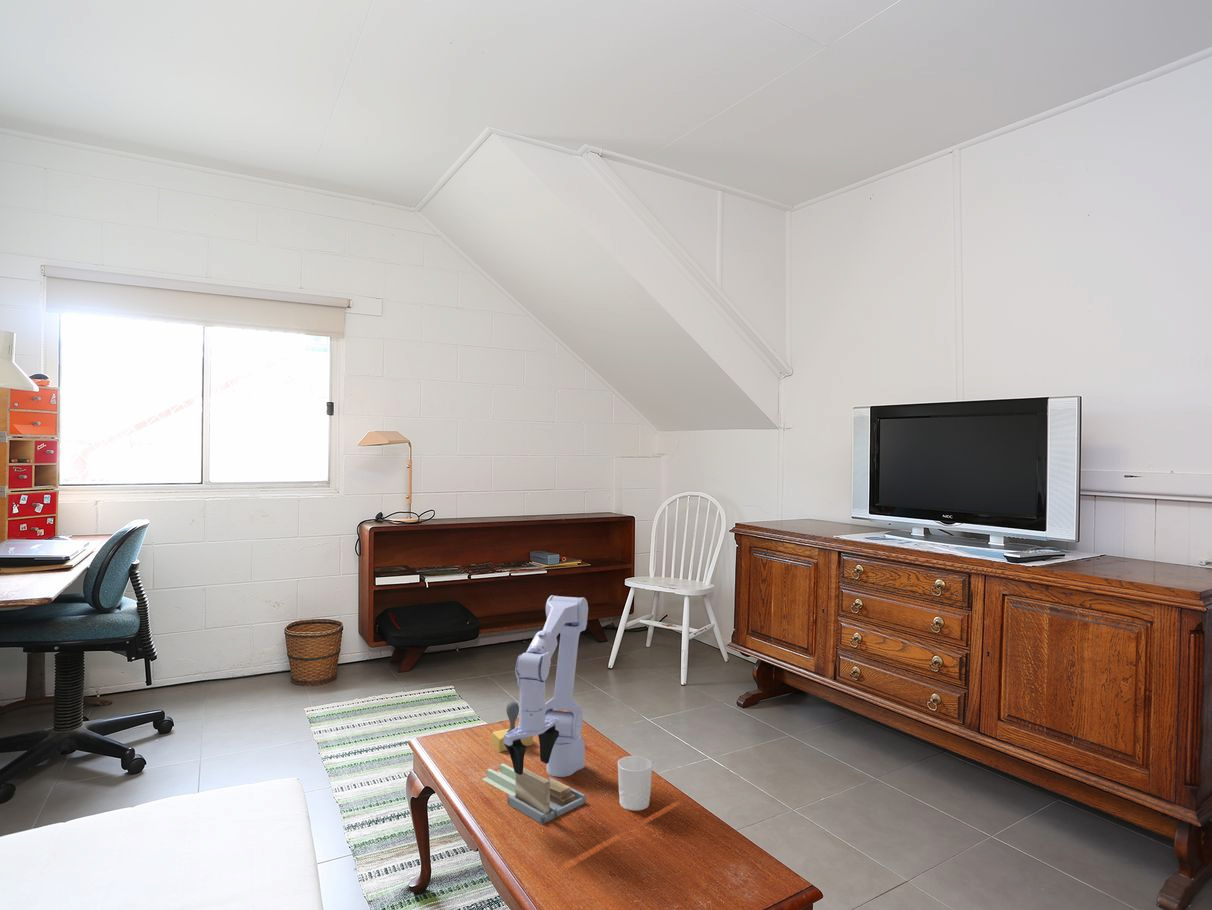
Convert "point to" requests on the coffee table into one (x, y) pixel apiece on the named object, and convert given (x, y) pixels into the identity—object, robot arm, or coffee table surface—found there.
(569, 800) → the offcut lower
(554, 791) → the offcut upper
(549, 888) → the coffee table surface
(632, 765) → the white cup
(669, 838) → the coffee table surface
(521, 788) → the birch sheet
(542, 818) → the tray
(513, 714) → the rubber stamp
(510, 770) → the stand
